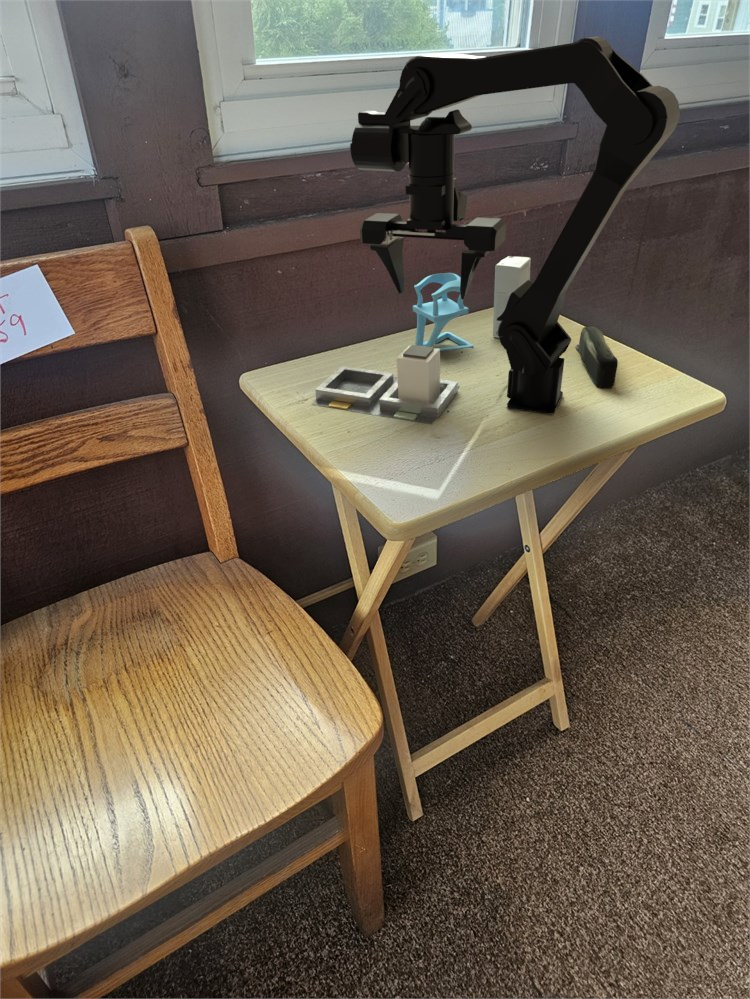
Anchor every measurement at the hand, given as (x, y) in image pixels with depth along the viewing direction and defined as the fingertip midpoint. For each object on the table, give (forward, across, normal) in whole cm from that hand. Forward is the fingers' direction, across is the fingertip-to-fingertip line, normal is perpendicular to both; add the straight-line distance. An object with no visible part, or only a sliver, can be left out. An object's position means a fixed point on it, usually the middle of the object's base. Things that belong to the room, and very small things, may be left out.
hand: (431, 295), depth 94 cm
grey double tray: (+13, +4, +8) cm, 16 cm away
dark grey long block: (+13, -22, -12) cm, 28 cm away
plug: (+12, -1, +8) cm, 15 cm away
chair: (+13, +3, -12) cm, 18 cm away
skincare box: (+13, -6, -22) cm, 26 cm away
